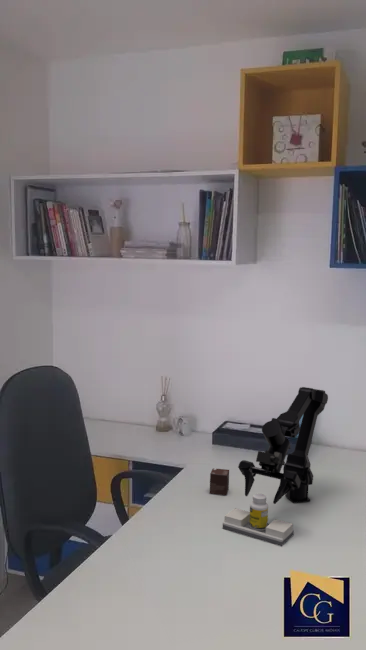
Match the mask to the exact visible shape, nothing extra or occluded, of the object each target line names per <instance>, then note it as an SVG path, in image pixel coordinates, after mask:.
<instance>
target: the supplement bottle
mask: <svg viewBox="0 0 366 650" xmlns="http://www.w3.org/2000/svg"><path fill="white" fill-rule="evenodd" d="M249 505H250V506H249V512H250V519H249V527H250V528H251V529H253V530H256V531H264V530H266V527H267V525H268V524H269V523H268V520H269V504H268V503H267V495H265V494H263V493H254V494H253V495H252V501H251V502H250V504H249Z"/></svg>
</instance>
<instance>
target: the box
mask: <svg viewBox="0 0 366 650" xmlns="http://www.w3.org/2000/svg"><path fill="white" fill-rule="evenodd" d="M229 487H230V469H225V468H216V467H215V468H212V469H211V472H210V474H209V494H210V495H217V496H219V495H220V496H227V495H228V493H229V491H230V490H229Z"/></svg>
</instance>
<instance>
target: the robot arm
mask: <svg viewBox="0 0 366 650" xmlns="http://www.w3.org/2000/svg"><path fill="white" fill-rule="evenodd" d="M328 400H329V395H328V393H327V392H326V391H325V390H324V389H316V388H312V387H306V386H301V387H299V389H298V392H297V395H296V396H295V397H294V400H292V403H291V404H290V406H289V408H288V409H287V410H286V411H285V412H282V413H280V414H279V416H277V417H272V418H271V420H269V421H267V422H265V423H264V424H263V425H262V426H261V432H262V434H263V436H264V439H265V441H266V442H267V444H268V445H269V446H268V449H267V450H265V451H260V450H258V451H257V454H256V459H255V462H256V463H258V465H259V467H256V465H255V464H254V462H253V461H248V460H244V459H243V460H241V461H240V462H239V463H238V466H237V468H238V469H239V471H240V473H241V474H242V476H244V483H245V485H244V495H245V497H248V496H249V494H250V492H251V490H252V488H253V484H254V482H255V477H256V475H259V476H263V477H267V478H272V479H276V480H280V481H279V486H278V488H277V490H276V493H275V495H274V497H273V504H274V505H276V504H277V503H278V502H279V501H280V500H281V499H282V498H283V497H286V498H287V499H288V500H289V501H291V502H292V503H295V504H297V503H306V502H311V499H310V498H309V486H310V485H313V483H314V482H313V481H314V474H313V471H312V469H311V462H310V458H309V452H310V448H311V445H312V440H313V436H314V430H315V427H316V423H317V419H318V416H319V415H320V414H322V412H324V410H325V407H326V405H327V404H328ZM300 421H301V422H300ZM300 423H301V424H300ZM296 437H297V439H296V442H295V443H296V444H295V447H294V451H292V453H288V451H289V450H290V449H291V442H290V440H289V439H288V438H290V439H291V438H293V439H294V438H296ZM285 459H286V461H285ZM282 468H283V469H282ZM281 470H282V471H283V473H282V471H281Z"/></svg>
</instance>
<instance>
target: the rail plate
mask: <svg viewBox="0 0 366 650" xmlns="http://www.w3.org/2000/svg"><path fill="white" fill-rule="evenodd" d="M249 519H250V511H247V510H243V509H240V508H237V507H235V508H233V509H232V510H230V511H229V512H227V514H225V515H224V520H223V522H222V529H223V530H226V531H229V532H233V533H236V534H239V535H242V536H246V537H248V538H249V537H250V538H253V539H255V540H260V541H263V542H266V543H270V544H273V545H276V546H280V547H283V545H284V544H286V542H288V540H290V539H291V538H292V537H293V536H294V533H295V532H294V531H295V530H293V529H294V528H293V527H294V523H291V522H287V521H284V520H280V519H278V518H277V519H276V518H275V519H274V520H273V521H271V522H270V523H268V525H267V527H266V530H264V531H256V530H253V529H251V528H250V527H249Z"/></svg>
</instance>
